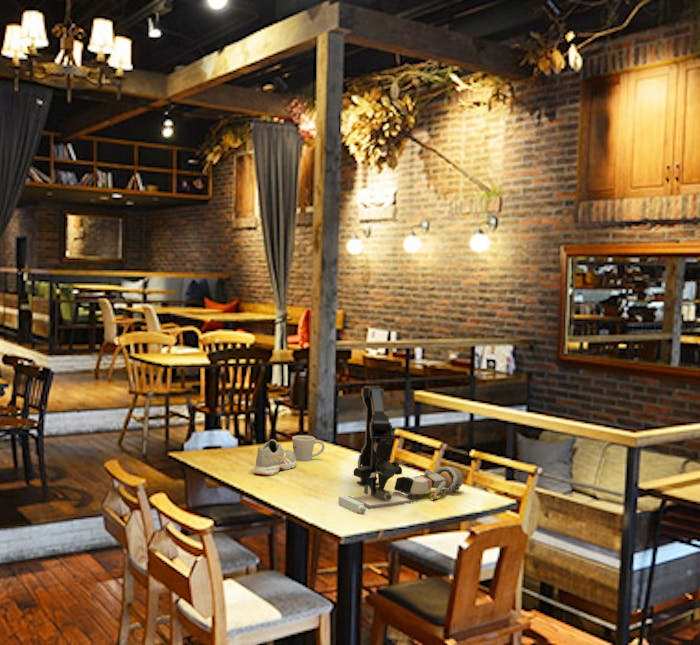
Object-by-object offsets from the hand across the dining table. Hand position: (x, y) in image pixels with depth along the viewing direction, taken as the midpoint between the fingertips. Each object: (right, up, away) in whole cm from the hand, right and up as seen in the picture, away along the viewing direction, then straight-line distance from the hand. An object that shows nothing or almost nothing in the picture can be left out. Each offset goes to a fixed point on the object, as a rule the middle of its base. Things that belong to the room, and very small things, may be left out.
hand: (377, 493), depth 303 cm
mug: (-29, +2, +63) cm, 69 cm away
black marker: (0, -1, -1) cm, 1 cm away
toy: (+21, -3, +10) cm, 24 cm away
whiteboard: (+1, -2, -1) cm, 3 cm away
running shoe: (-41, +1, +41) cm, 58 cm away
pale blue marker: (-9, -2, -14) cm, 17 cm away
